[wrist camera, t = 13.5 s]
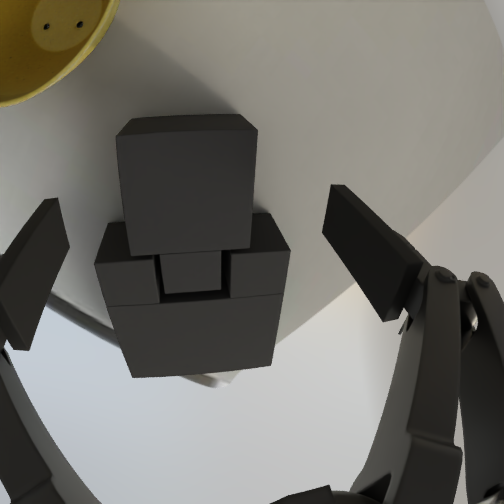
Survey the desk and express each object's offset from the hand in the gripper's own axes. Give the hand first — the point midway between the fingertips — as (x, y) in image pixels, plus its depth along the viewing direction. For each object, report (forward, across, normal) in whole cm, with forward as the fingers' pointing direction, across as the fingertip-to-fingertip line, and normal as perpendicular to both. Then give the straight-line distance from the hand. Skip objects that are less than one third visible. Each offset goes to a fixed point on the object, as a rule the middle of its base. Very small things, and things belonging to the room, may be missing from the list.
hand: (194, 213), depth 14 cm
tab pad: (+7, 0, -2) cm, 7 cm away
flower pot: (+7, -8, +11) cm, 16 cm away
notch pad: (+7, 0, -10) cm, 12 cm away
